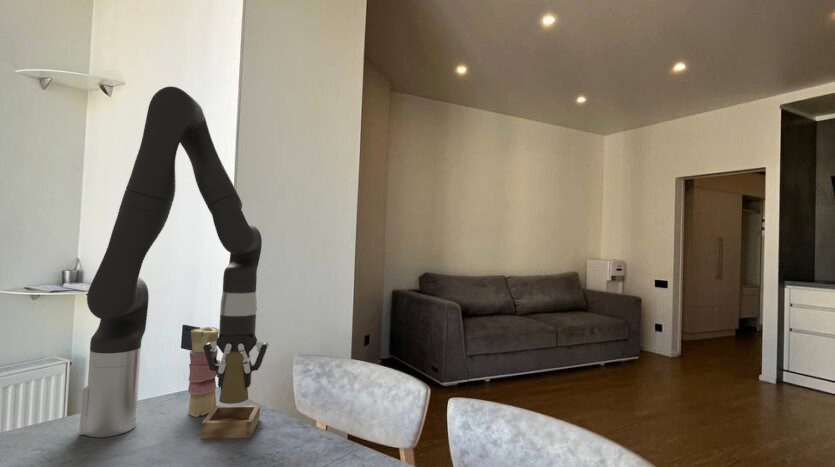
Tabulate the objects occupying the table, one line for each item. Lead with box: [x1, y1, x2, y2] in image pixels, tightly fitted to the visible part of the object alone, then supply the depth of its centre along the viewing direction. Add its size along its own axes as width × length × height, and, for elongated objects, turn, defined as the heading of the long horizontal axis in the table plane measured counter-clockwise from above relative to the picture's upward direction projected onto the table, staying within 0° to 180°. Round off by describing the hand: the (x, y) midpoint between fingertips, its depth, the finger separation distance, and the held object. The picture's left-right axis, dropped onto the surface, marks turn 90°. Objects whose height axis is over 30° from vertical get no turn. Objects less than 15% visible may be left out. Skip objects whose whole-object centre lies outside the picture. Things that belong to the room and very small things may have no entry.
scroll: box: [187, 326, 221, 418], centre depth 109 cm, size 8×8×20 cm
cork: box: [218, 351, 249, 405], centre depth 100 cm, size 6×6×11 cm
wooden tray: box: [200, 404, 261, 440], centre depth 99 cm, size 10×10×3 cm
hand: (234, 388), depth 100 cm, fingers closed on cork, 4 cm apart
